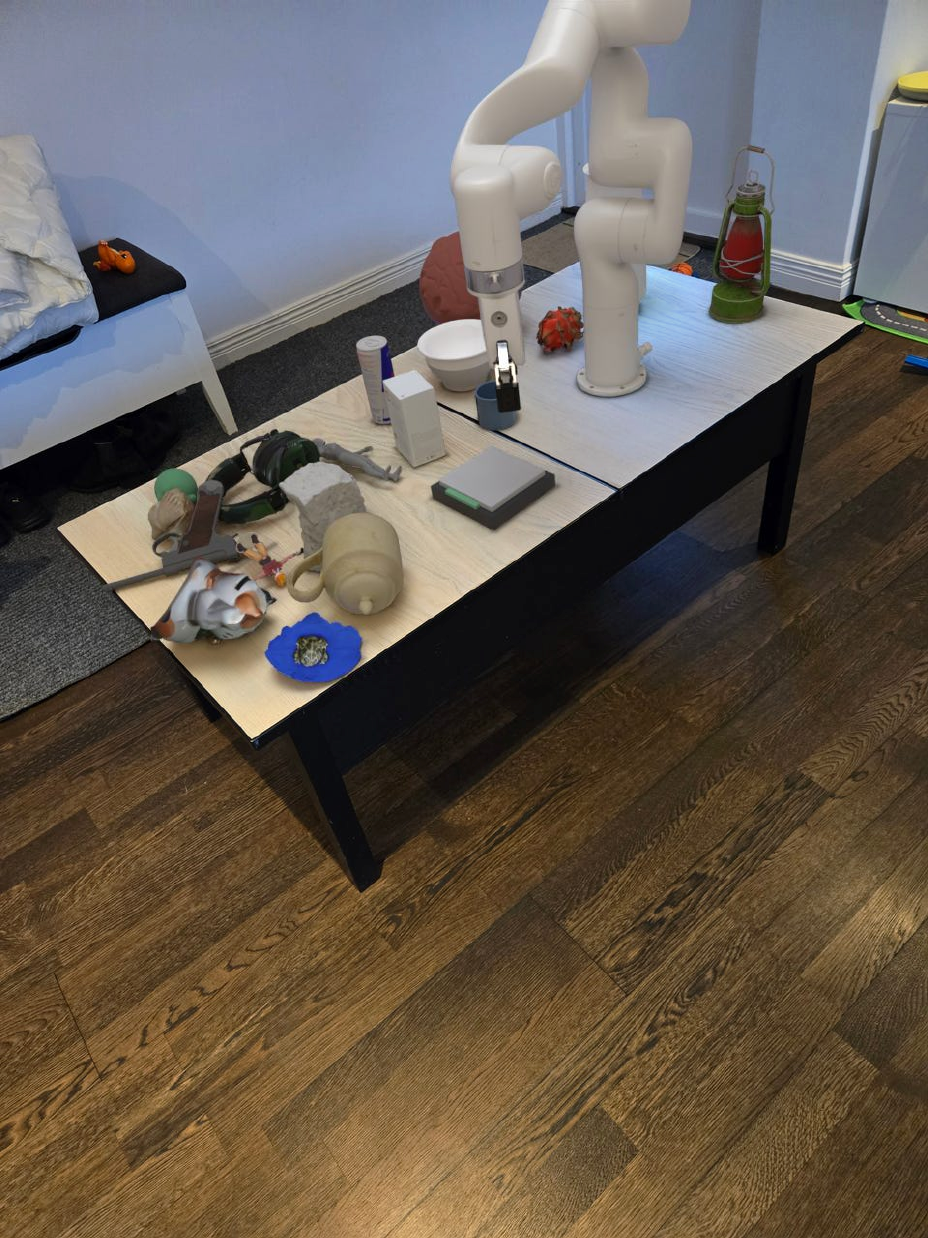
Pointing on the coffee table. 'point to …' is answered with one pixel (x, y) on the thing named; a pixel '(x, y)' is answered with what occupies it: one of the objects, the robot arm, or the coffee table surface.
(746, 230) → the lantern
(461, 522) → the coffee table surface
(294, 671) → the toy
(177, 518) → the seashell
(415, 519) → the coffee table surface
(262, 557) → the action figure
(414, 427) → the small box
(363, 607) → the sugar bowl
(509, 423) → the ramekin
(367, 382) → the beverage can
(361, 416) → the coffee table surface
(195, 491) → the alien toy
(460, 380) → the bowl
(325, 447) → the action figure
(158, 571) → the handgun
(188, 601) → the lucky cat figurine
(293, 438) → the headphones
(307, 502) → the decorative stone
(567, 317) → the dragon fruit
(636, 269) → the vase
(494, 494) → the scale
